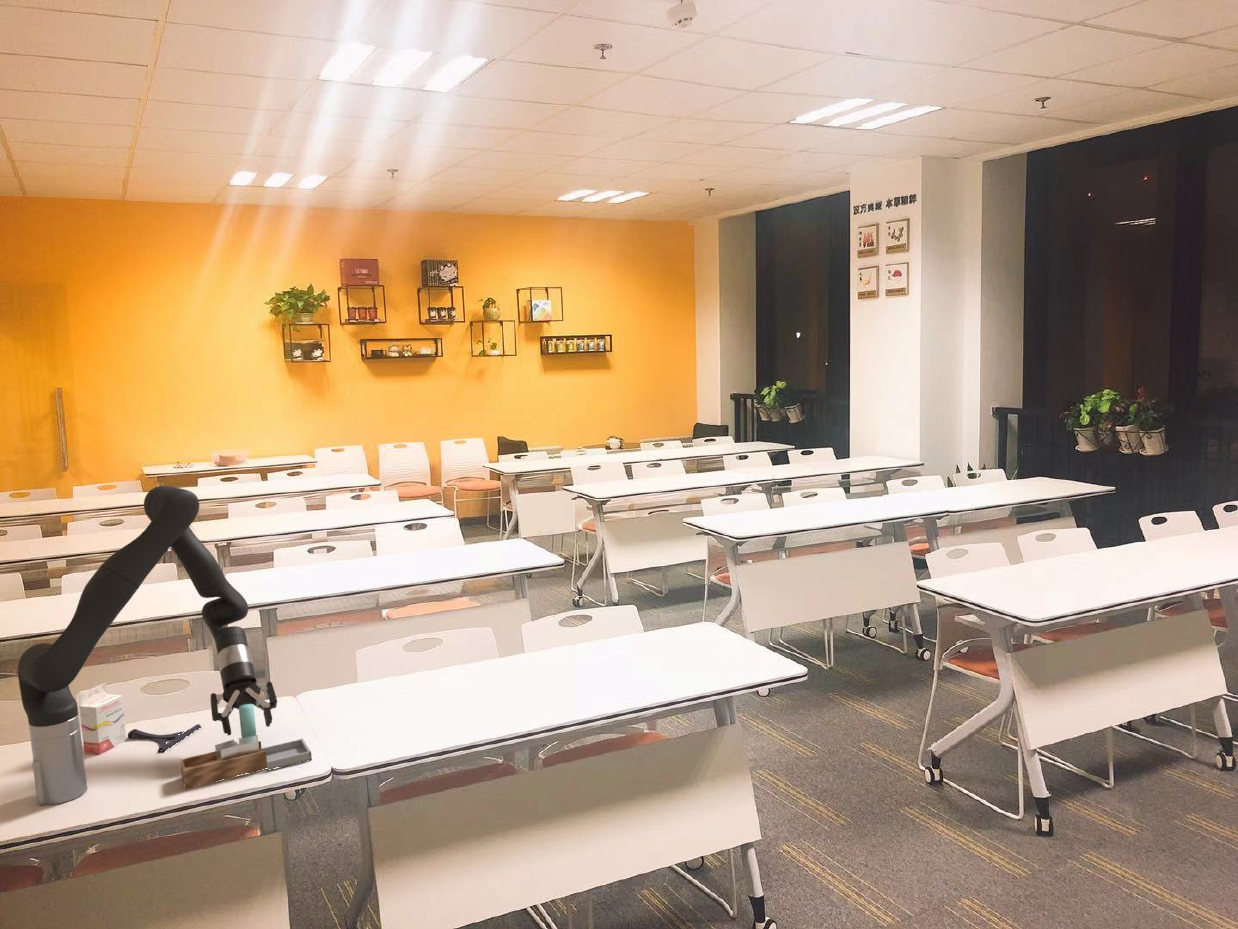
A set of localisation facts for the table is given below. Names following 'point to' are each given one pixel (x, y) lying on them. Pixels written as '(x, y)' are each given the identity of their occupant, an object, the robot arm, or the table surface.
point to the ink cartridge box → (101, 720)
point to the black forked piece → (162, 737)
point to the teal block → (247, 720)
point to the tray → (287, 754)
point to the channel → (219, 767)
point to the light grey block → (227, 750)
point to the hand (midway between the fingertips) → (249, 729)
